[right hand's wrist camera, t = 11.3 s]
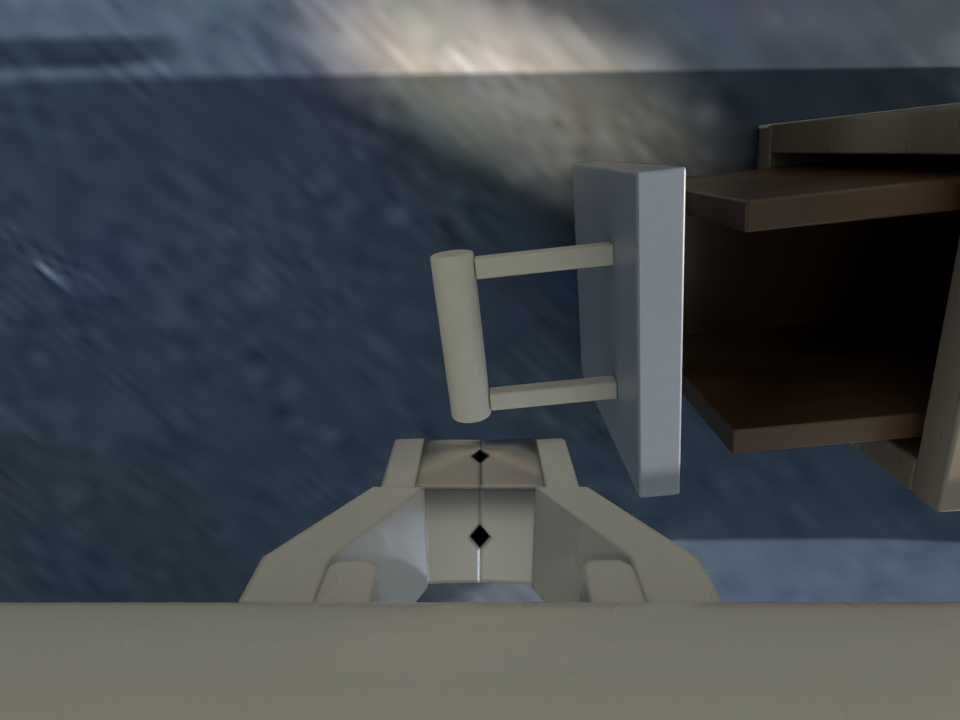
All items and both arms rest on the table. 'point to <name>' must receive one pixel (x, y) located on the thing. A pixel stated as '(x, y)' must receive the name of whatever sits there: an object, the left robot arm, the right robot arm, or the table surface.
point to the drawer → (734, 305)
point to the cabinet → (956, 380)
